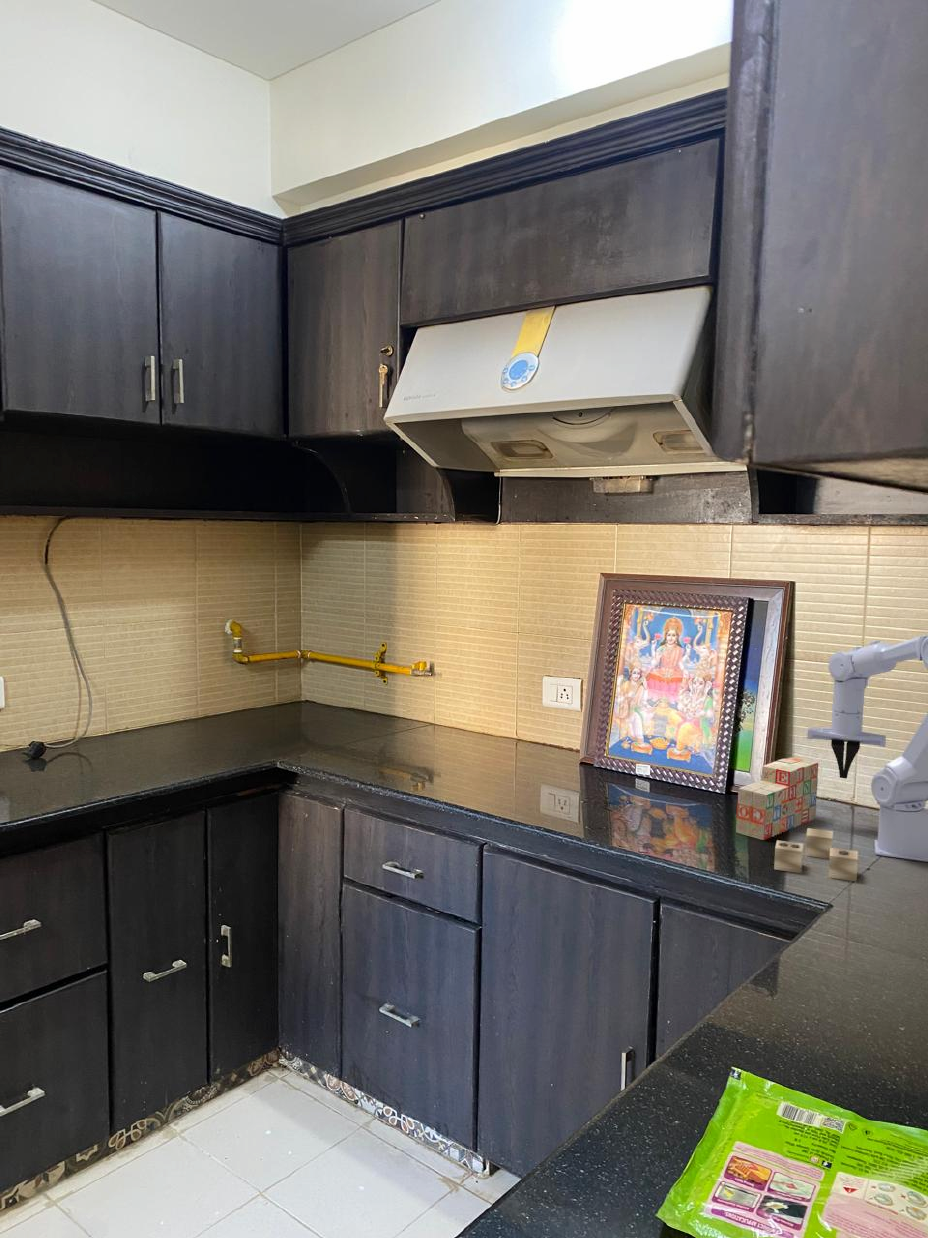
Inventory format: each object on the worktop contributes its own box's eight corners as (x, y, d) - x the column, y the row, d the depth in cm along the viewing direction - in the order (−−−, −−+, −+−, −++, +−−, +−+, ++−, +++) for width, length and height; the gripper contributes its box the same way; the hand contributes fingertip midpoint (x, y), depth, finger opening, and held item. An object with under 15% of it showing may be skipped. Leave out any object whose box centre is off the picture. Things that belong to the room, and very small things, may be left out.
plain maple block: (831, 852, 174) (833, 831, 173) (831, 859, 169) (832, 838, 169) (806, 848, 175) (807, 828, 175) (805, 856, 171) (806, 835, 171)
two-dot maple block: (802, 865, 166) (803, 843, 166) (800, 873, 162) (802, 851, 162) (775, 861, 168) (777, 839, 168) (774, 870, 164) (775, 847, 164)
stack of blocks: (764, 841, 179) (767, 779, 178) (735, 833, 183) (737, 773, 182) (816, 819, 193) (819, 761, 192) (787, 812, 198) (790, 755, 197)
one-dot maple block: (856, 873, 163) (857, 850, 163) (856, 882, 159) (857, 858, 158) (829, 869, 165) (830, 846, 164) (828, 878, 161) (829, 854, 160)
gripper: (886, 710, 186) (882, 776, 188) (810, 703, 192) (806, 767, 193) (887, 717, 180) (883, 785, 181) (808, 710, 185) (804, 776, 187)
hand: (843, 777), depth 187 cm, fingers closed
